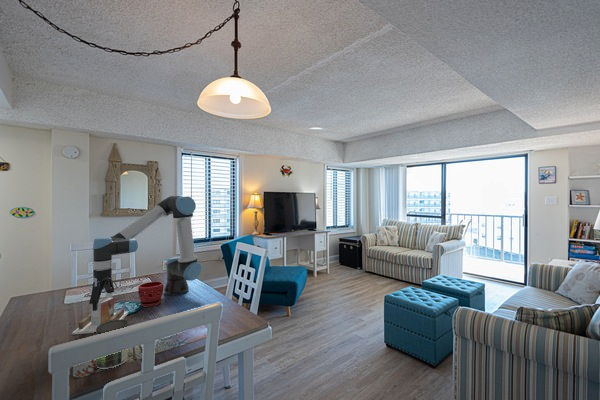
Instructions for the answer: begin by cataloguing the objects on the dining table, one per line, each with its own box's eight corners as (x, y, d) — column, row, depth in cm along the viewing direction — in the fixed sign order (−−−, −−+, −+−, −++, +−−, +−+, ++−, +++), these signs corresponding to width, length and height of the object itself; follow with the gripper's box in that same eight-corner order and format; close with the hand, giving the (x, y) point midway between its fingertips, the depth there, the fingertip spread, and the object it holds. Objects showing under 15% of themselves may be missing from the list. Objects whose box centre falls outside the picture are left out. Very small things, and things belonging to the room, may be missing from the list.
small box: (100, 325, 134) (100, 303, 133) (90, 324, 135) (90, 302, 134) (114, 318, 141) (114, 297, 141) (105, 317, 142) (105, 296, 142)
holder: (94, 316, 146) (94, 308, 146) (128, 313, 149) (128, 306, 149) (72, 334, 126) (72, 325, 126) (111, 331, 130) (111, 322, 130)
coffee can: (108, 372, 99) (108, 333, 99) (89, 366, 103) (89, 328, 103) (134, 357, 109) (134, 321, 109) (116, 351, 112) (116, 317, 112)
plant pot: (168, 301, 167) (168, 281, 167) (150, 309, 154) (150, 288, 154) (151, 298, 171) (151, 279, 171) (132, 306, 159) (132, 286, 159)
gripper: (105, 263, 149) (105, 302, 149) (80, 276, 124) (80, 322, 125) (121, 262, 150) (121, 301, 151) (98, 275, 126) (98, 321, 126)
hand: (102, 310), depth 138 cm, fingers open, 13 cm apart
